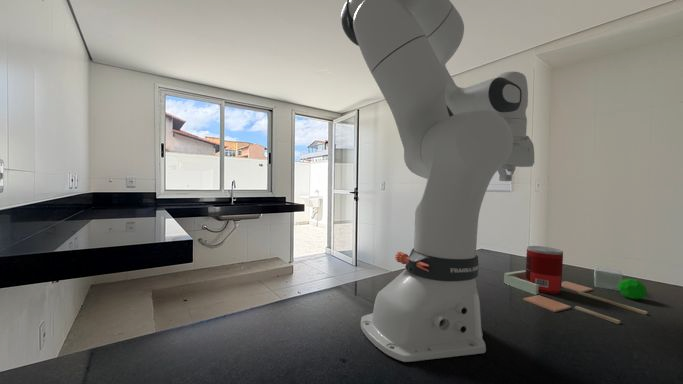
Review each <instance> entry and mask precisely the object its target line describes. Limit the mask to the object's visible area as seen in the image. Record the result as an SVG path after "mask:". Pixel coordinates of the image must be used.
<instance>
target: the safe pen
mask: <svg viewBox="0 0 683 384" xmlns="http://www.w3.org/2000/svg"><path fill="white" fill-rule="evenodd" d="M503 274H504V275H503V284H504V283H505V284H504V285H506V284H507V286H509V285H510V286H509V287H513V288H515V289H518V290H521V291H524V292H527V293H529V294H532V295H534V296H536V295H537V294H538V295H539V292H538V288H539V285H538V284H535V283H532V282H529V281H525V279H526V269H524V270H518V271H509V272H504V273H503Z"/></svg>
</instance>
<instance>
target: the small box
mask: <svg viewBox="0 0 683 384" xmlns="http://www.w3.org/2000/svg"><path fill="white" fill-rule="evenodd" d="M593 270H594V271H593V283H594V287H595V288H601V289H606V290H611V291H615V292H620V291H619V289H618V286H619V283H620V282H621V281H622V280H624V279H623V273H622V271H621V270H619V269H613V268H606V267H602V266H601V267H600V266H594V267H593Z"/></svg>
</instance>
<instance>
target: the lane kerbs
mask: <svg viewBox="0 0 683 384" xmlns="http://www.w3.org/2000/svg"><path fill="white" fill-rule="evenodd" d="M577 293H578V295H582V296H584V297H587V298H590V299H594V300H597V301H600V302H604V303H607V304H610V305H613V306H616V307H620V308H622V309H626V310H629V311H633V312H635V313H639V314H641V315H648V311H646V310H643V309H639V308H636V307H633V306H629V305H627V304H622V303H619V302H616V301H612V300H609V299H607V298H603V297H600V296H597V295H594V294H590V293H587V292H577ZM574 310H578V311H579V312H580V311H581V312H583V313H586V314H589V315H592V316H594V317H597V318H600V319H603V320H606V321H609V322H611V323H614V324H617V325H619V324H620V323H621V320H620V319H618V318H614V317H611V316H608V315H605V314H601V313H600V312H596V311H593V310H590V309H587V308H585V307H582V306H578V305H575V306H574Z"/></svg>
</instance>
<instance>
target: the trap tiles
mask: <svg viewBox="0 0 683 384" xmlns="http://www.w3.org/2000/svg"><path fill="white" fill-rule="evenodd" d="M561 288H562V289H563V288H564V289H566V290H569V291H573V292H576V293H579V292H584V293H587V292H590V291H593V290H594V289H593V288H592V287H589V286H588V287H587V286H586V285H581V284H579V283H574V282H570V281H568V280H566V281H564V280H563V281H562V283H561ZM522 300H523V301H525V302H528V303H531V304H534V305H535V306H538V307H541V308H543V309H546V310H549V311H551V312H554V313H557V312H561V311H565V310H569V309H571V308H572V306H571V305H568V304H565V303H563V302H560V301H558V300H554V299H550V298H548V297H545V296H542V295H540V294H538V295H533V296H528V297H523V299H522Z"/></svg>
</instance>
